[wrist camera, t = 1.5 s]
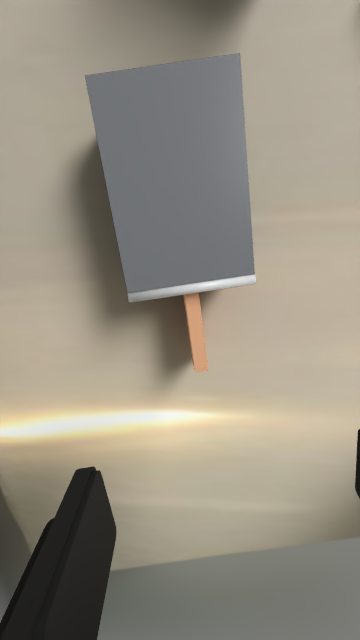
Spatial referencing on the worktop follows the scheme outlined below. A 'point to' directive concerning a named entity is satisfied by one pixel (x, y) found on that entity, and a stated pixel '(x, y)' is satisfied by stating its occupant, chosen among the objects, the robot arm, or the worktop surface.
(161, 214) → the grey rectangular block
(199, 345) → the wooden craft stick
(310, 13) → the worktop surface
